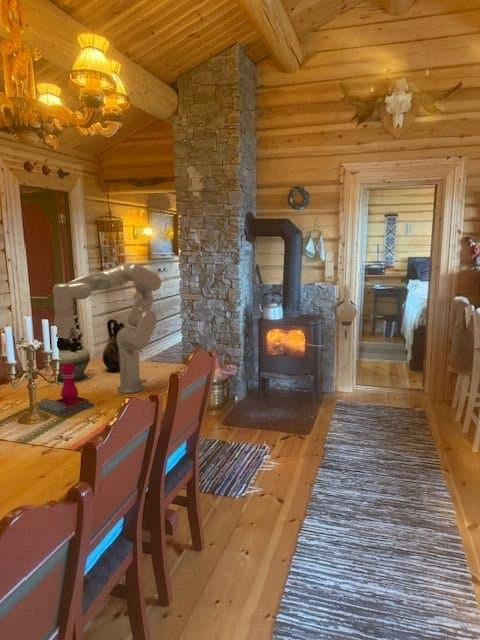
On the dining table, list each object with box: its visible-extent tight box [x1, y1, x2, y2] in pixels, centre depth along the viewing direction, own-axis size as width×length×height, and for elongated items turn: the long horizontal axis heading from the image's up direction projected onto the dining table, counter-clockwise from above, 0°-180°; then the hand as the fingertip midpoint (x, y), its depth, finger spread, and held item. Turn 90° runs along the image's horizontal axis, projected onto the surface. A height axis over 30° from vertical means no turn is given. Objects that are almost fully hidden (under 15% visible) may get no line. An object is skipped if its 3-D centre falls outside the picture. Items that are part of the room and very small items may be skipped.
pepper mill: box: [60, 360, 79, 405], centre depth 202 cm, size 7×7×20 cm
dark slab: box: [37, 395, 95, 418], centre depth 201 cm, size 16×18×4 cm
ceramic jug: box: [102, 318, 126, 373], centre depth 262 cm, size 17×15×30 cm
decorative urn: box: [48, 314, 92, 385], centre depth 244 cm, size 21×21×35 cm
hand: (67, 350), depth 200 cm, fingers open, 9 cm apart
